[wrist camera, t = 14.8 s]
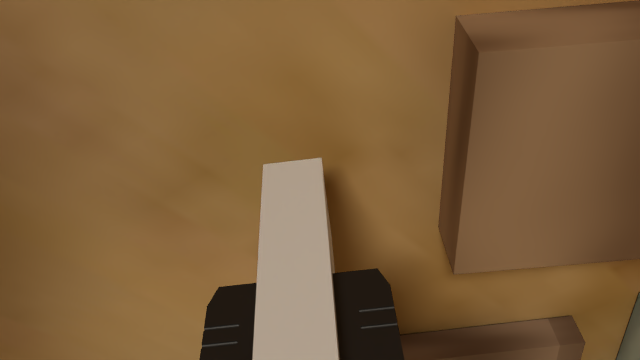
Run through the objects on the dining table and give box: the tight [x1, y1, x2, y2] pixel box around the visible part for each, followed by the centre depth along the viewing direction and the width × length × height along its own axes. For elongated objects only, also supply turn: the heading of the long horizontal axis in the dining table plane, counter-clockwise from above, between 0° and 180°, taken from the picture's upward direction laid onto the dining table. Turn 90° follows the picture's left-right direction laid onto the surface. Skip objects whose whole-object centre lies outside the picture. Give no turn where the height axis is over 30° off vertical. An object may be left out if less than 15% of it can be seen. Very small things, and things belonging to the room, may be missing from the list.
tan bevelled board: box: [438, 0, 640, 274], centre depth 15 cm, size 9×7×2 cm
